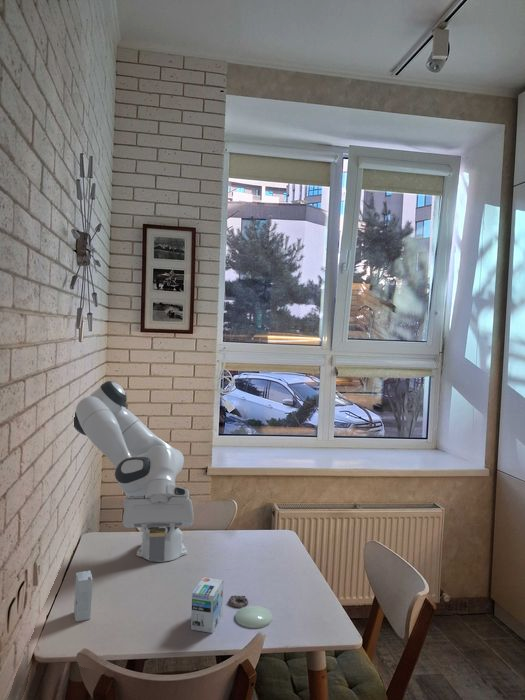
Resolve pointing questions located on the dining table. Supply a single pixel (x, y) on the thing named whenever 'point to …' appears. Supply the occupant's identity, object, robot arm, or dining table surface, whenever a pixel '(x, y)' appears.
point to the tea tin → (157, 544)
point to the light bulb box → (207, 605)
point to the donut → (239, 604)
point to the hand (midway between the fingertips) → (157, 540)
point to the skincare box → (83, 596)
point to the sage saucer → (253, 616)
